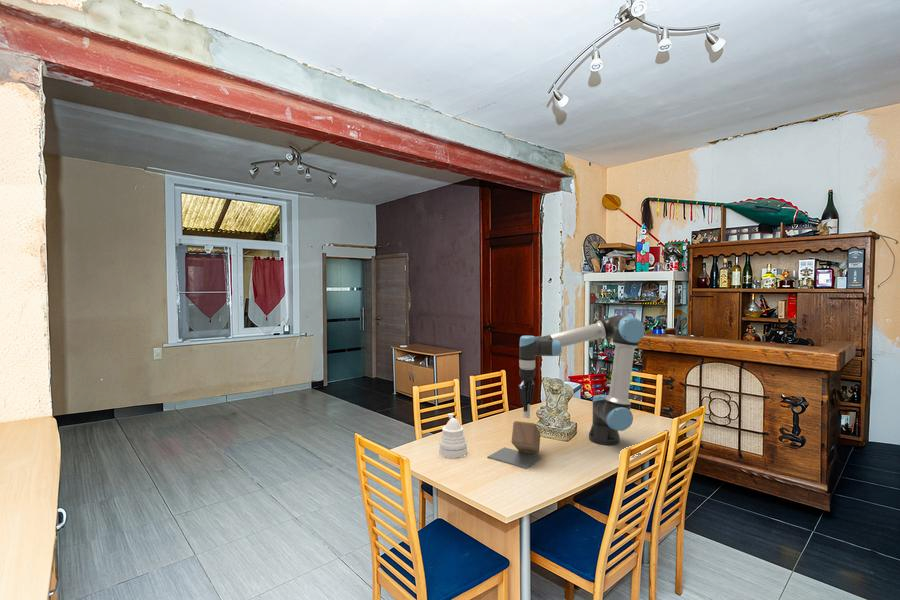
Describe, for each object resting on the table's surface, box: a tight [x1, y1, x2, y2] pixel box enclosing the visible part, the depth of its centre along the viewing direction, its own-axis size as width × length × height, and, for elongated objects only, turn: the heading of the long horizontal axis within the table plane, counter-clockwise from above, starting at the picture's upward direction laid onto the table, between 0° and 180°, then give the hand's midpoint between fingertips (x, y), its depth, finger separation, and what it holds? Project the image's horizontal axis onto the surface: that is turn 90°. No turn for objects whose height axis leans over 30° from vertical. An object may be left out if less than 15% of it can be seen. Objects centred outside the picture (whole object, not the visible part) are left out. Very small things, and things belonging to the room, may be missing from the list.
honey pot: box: [439, 413, 468, 459], centre depth 209 cm, size 13×13×18 cm
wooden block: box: [511, 420, 541, 454], centre depth 204 cm, size 10×10×20 cm
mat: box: [487, 447, 543, 470], centre depth 203 cm, size 20×15×1 cm
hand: (526, 417), depth 212 cm, fingers closed
